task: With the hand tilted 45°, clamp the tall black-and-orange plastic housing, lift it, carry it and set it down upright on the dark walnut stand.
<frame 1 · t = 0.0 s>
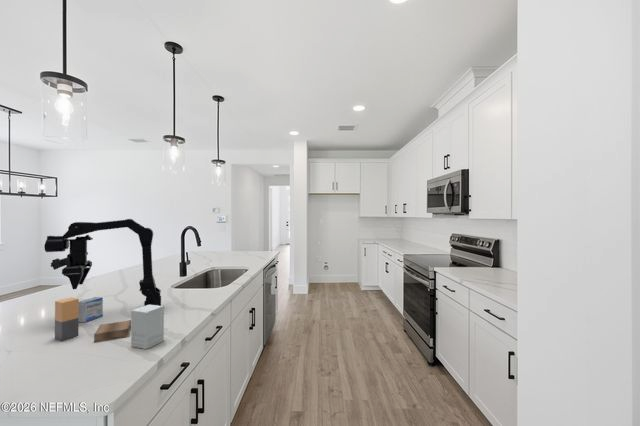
hand: (77, 286, 121), 15 cm above the counter, tool pointing down, fingers open, 9 cm apart
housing: (66, 337, 104), on the counter
walnut stand: (113, 334, 107), on the counter
supplement box: (147, 344, 99), on the counter
medicine box: (90, 319, 123), on the counter
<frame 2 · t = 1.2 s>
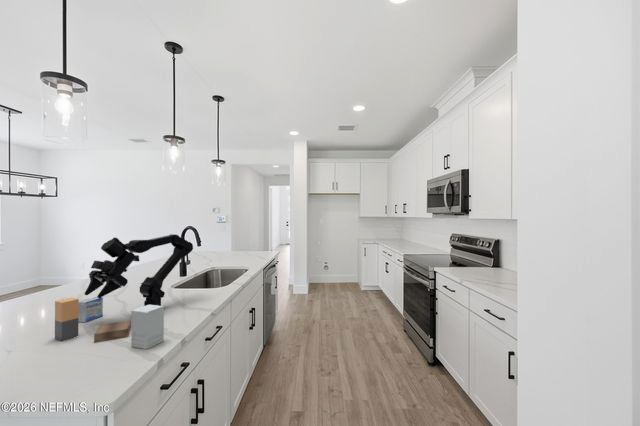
hand: (91, 296, 112), 13 cm above the counter, tool tilted 45°, fingers open, 9 cm apart
nothing on the counter moved.
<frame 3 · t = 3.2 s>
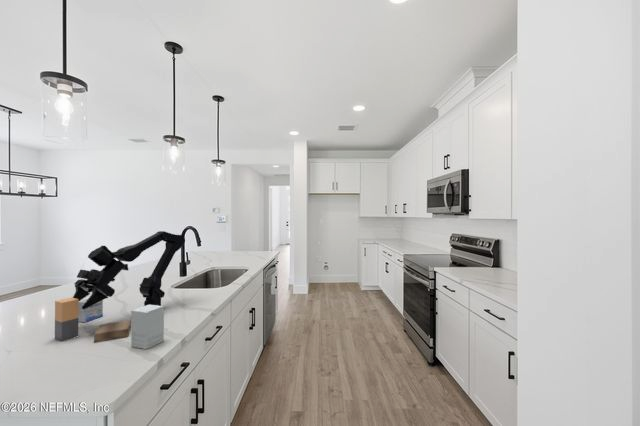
hand: (76, 307, 107), 11 cm above the counter, tool tilted 45°, fingers open, 9 cm apart
nothing on the counter moved.
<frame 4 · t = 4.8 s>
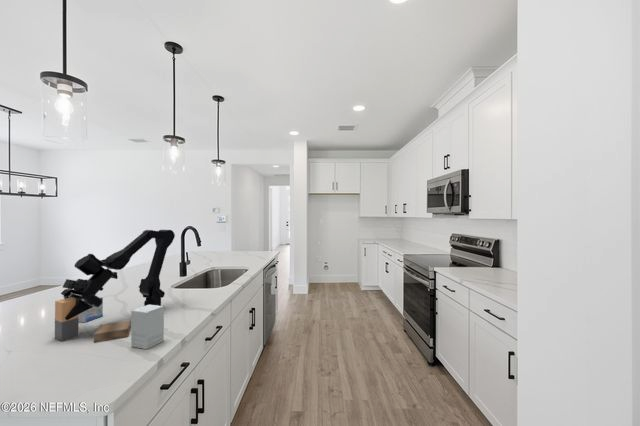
hand: (62, 318, 103), 8 cm above the counter, tool tilted 45°, fingers closed on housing, 5 cm apart
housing: (66, 337, 104), on the counter, touching gripper
everything else where it was.
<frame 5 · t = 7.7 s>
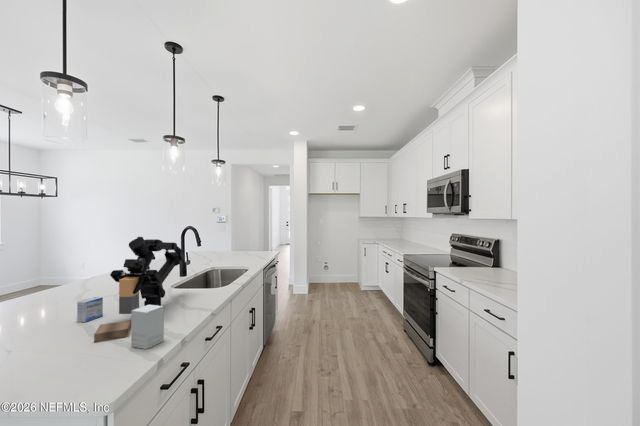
hand: (127, 293, 115), 13 cm above the counter, tool tilted 45°, fingers closed on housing, 5 cm apart
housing: (129, 311, 116), point 5 cm above the counter, touching gripper
everything else where it was.
when the fingers open (12 cm above the counter, at t = 10.8 s): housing stays where it is, resting on walnut stand.
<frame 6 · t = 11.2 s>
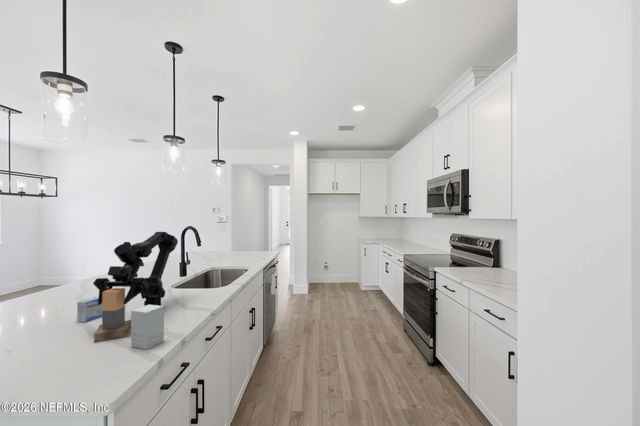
hand: (111, 304, 106), 12 cm above the counter, tool tilted 45°, fingers open, 9 cm apart
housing: (113, 326, 107), point 3 cm above the counter, touching walnut stand
everything else where it was.
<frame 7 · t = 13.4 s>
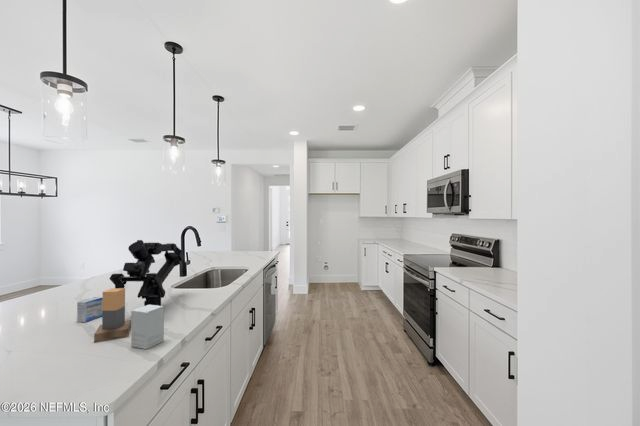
hand: (126, 297, 115), 12 cm above the counter, tool tilted 45°, fingers open, 9 cm apart
nothing on the counter moved.
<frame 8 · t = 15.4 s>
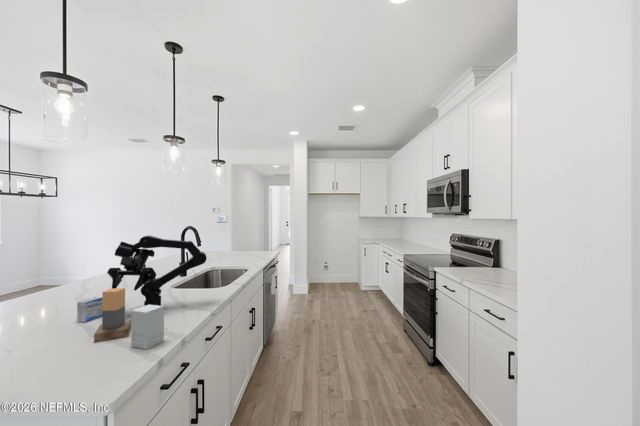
hand: (123, 290, 120), 14 cm above the counter, tool tilted 45°, fingers open, 9 cm apart
nothing on the counter moved.
at the end: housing inside the target area on the walnut stand (0.0 cm from its centre), point 3.0 cm above the walnut stand's base; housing tilted 0°; the gripper is holding nothing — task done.
